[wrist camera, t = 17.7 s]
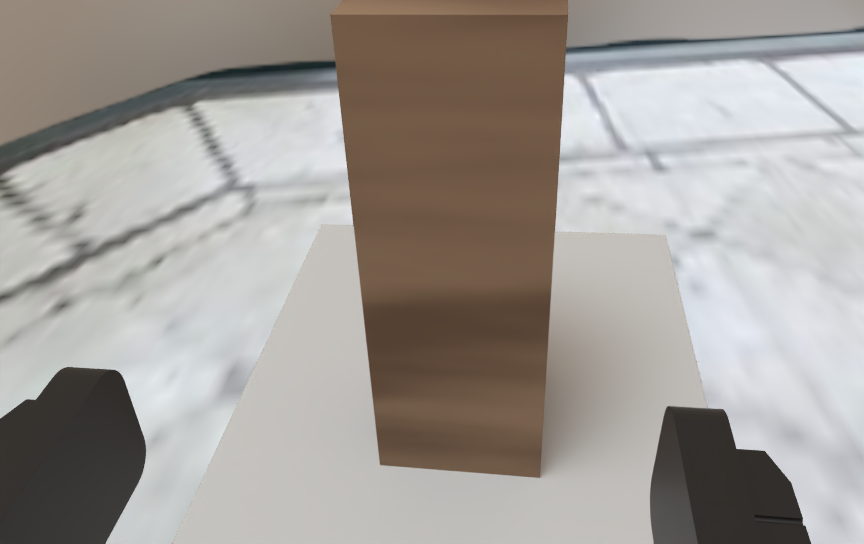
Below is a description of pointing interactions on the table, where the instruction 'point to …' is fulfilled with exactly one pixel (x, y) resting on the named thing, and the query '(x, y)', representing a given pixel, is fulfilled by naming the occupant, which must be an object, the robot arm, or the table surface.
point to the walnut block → (454, 220)
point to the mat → (440, 489)
